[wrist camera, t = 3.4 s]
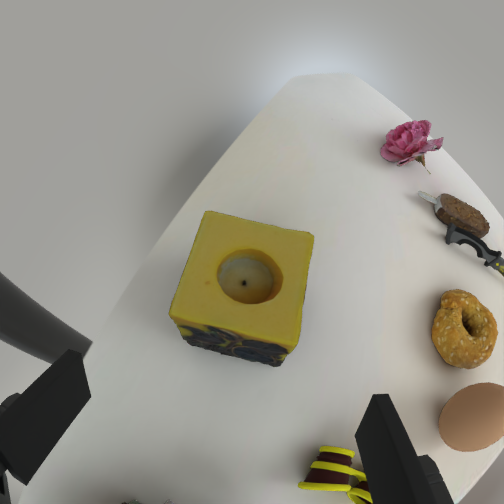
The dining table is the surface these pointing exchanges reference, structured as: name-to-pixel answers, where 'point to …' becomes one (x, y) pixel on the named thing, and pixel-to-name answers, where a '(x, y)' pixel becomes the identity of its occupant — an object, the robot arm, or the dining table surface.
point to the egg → (473, 417)
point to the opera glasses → (337, 475)
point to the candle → (243, 288)
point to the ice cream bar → (458, 213)
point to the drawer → (136, 503)
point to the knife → (475, 246)
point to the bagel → (463, 330)
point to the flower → (409, 143)
